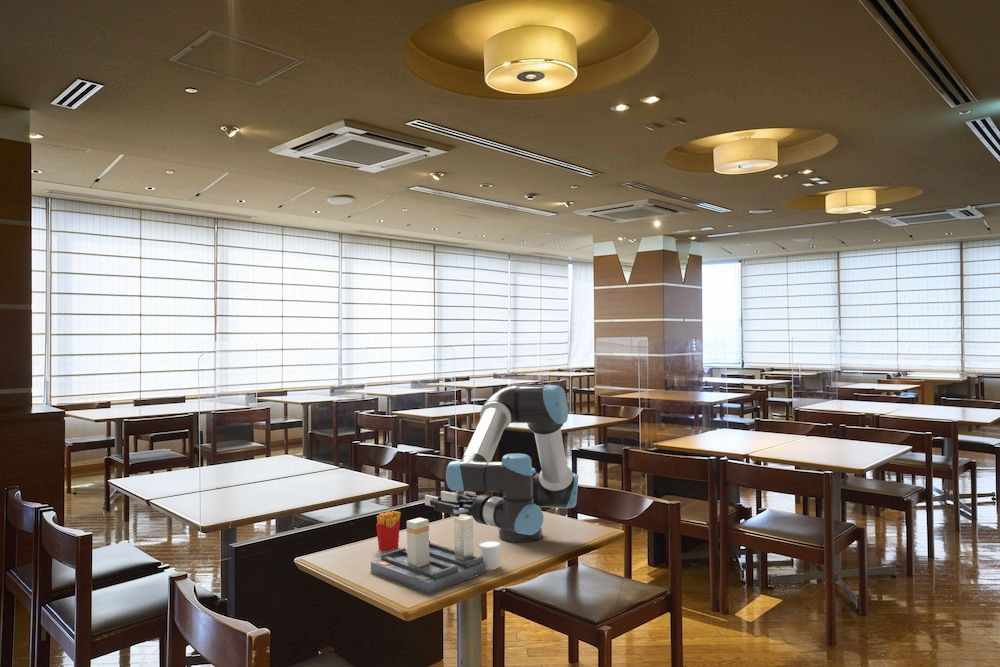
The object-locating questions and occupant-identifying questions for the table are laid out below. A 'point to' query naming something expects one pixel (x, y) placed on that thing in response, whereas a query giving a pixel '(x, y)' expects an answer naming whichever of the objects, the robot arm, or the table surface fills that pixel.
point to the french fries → (388, 530)
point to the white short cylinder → (490, 553)
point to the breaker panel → (435, 562)
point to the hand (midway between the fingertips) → (434, 497)
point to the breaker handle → (418, 542)
